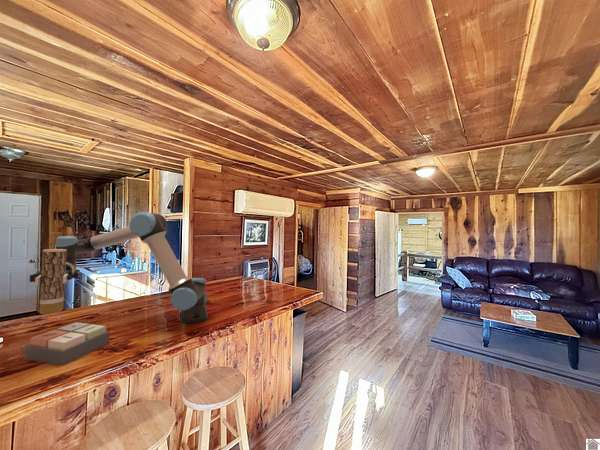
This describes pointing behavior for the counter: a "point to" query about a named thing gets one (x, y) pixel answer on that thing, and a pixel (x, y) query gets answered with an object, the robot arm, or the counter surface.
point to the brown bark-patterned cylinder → (52, 281)
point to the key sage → (91, 331)
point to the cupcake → (206, 296)
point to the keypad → (65, 351)
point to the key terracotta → (45, 338)
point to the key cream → (66, 341)
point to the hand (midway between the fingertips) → (50, 280)
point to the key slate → (73, 327)
